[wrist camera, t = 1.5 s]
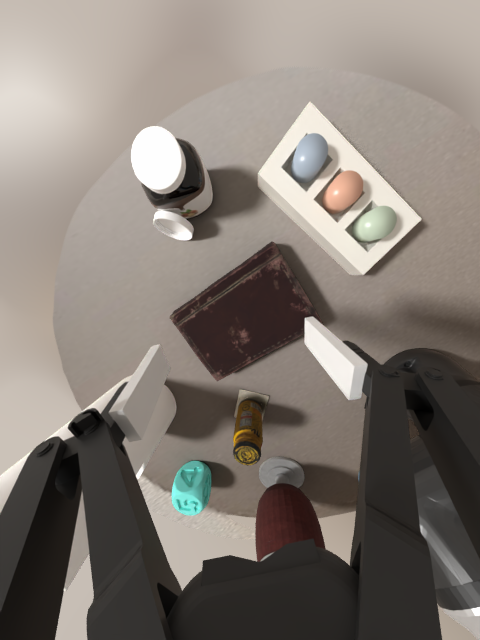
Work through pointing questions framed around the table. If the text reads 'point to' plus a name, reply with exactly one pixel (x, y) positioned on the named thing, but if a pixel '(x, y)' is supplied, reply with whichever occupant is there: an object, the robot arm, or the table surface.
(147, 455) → the cylinder
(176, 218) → the spread jar
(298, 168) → the slate button
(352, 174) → the terracotta button
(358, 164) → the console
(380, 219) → the sage button
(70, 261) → the table surface
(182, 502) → the decorative dice
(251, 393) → the condiment
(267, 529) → the mate gourd
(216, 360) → the diary
